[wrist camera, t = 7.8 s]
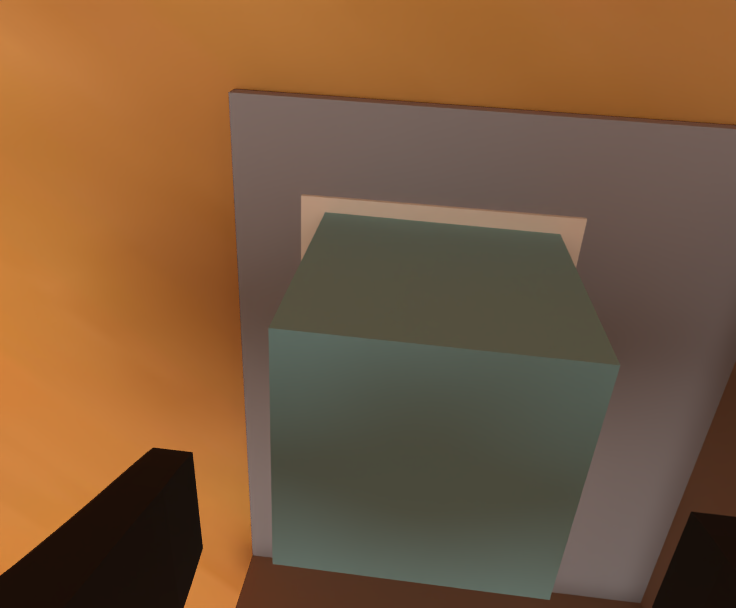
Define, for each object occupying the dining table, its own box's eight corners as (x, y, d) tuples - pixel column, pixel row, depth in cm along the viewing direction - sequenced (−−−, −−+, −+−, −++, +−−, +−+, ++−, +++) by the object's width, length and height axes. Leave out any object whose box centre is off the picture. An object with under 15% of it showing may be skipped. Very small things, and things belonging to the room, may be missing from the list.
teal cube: (560, 234, 13) (620, 365, 9) (519, 422, 15) (550, 599, 11) (325, 212, 13) (268, 328, 9) (319, 399, 16) (272, 564, 11)
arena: (894, 136, 12) (1082, 204, 8) (674, 629, 19) (727, 777, 16) (234, 89, 13) (156, 131, 9) (257, 577, 20) (218, 706, 16)
